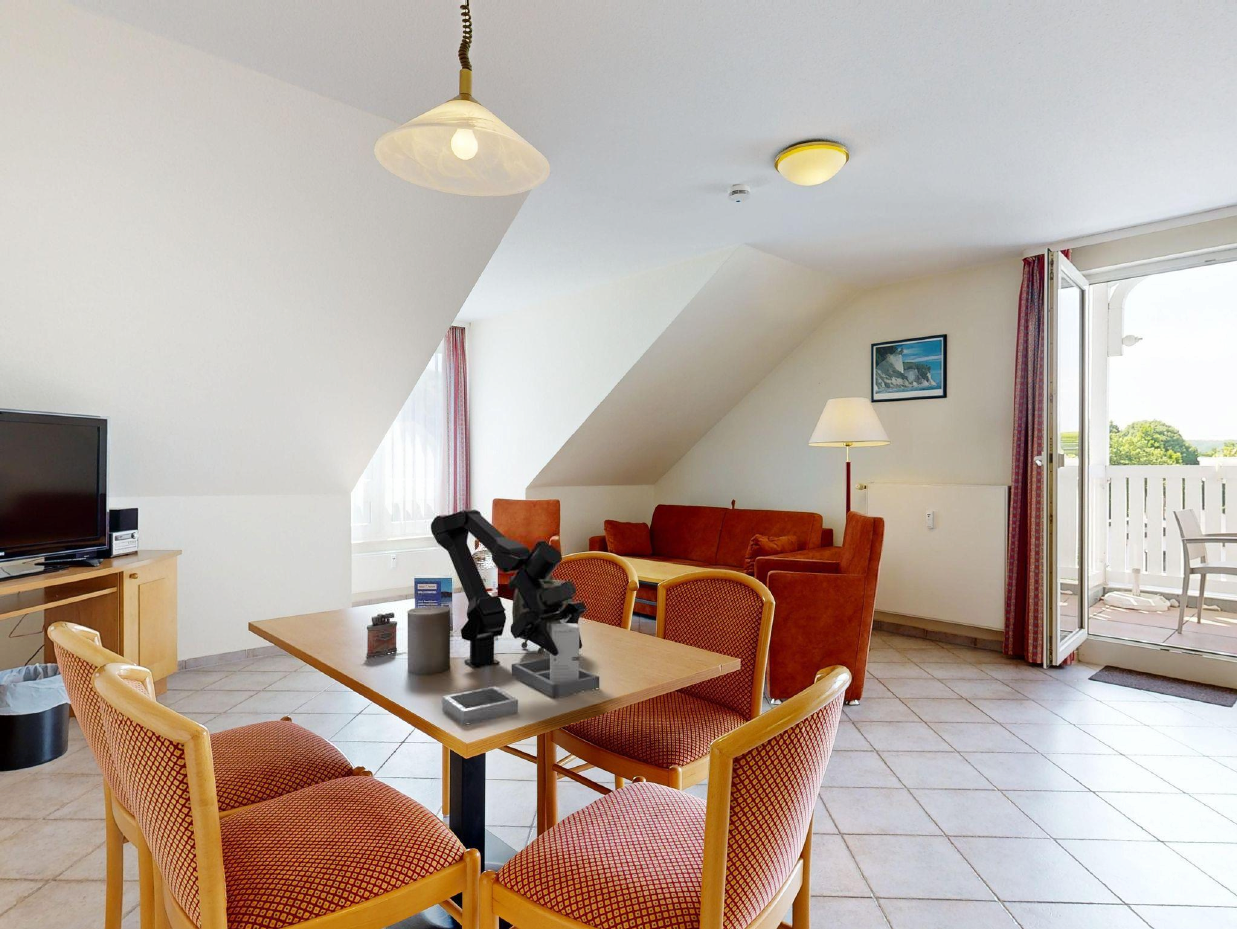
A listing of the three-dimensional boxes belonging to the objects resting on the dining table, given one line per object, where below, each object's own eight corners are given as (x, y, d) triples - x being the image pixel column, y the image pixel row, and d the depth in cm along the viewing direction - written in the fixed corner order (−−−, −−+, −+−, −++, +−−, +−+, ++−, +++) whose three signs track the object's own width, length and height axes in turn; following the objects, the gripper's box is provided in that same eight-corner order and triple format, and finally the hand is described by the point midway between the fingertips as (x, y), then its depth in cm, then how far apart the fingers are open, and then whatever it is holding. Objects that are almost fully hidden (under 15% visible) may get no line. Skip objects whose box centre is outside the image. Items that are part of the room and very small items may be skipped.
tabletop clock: (573, 648, 177) (574, 552, 177) (567, 657, 168) (568, 556, 168) (518, 646, 179) (519, 551, 179) (509, 655, 170) (510, 555, 170)
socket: (442, 709, 131) (442, 696, 131) (494, 698, 137) (495, 686, 137) (463, 725, 123) (463, 711, 123) (517, 713, 129) (518, 699, 129)
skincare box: (550, 686, 143) (550, 628, 143) (549, 679, 147) (549, 623, 147) (580, 684, 144) (579, 627, 144) (577, 677, 148) (577, 622, 148)
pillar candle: (458, 664, 161) (458, 601, 162) (436, 676, 152) (436, 608, 152) (421, 662, 164) (421, 599, 164) (398, 673, 155) (398, 606, 155)
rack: (511, 675, 153) (511, 664, 153) (553, 667, 160) (553, 656, 160) (554, 698, 138) (554, 685, 138) (599, 688, 144) (599, 676, 144)
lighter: (371, 658, 166) (371, 617, 166) (363, 656, 168) (364, 615, 169) (399, 651, 173) (400, 612, 173) (391, 649, 175) (392, 610, 175)
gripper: (520, 574, 141) (557, 637, 134) (581, 565, 155) (618, 621, 148) (494, 607, 146) (529, 669, 139) (556, 595, 160) (590, 651, 153)
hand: (569, 651), depth 145 cm, fingers closed on skincare box, 7 cm apart
